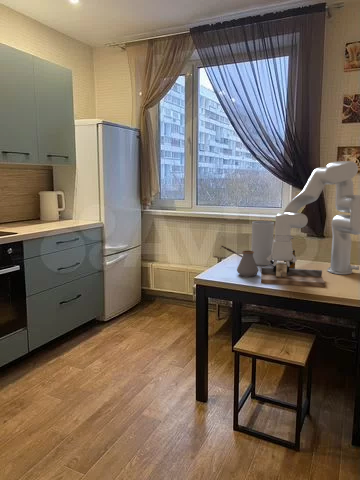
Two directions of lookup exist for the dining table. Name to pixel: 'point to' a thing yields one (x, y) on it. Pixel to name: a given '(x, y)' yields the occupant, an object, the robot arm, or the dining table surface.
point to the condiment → (291, 260)
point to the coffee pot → (246, 263)
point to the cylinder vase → (262, 241)
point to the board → (293, 277)
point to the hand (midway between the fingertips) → (280, 272)
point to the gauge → (281, 269)
